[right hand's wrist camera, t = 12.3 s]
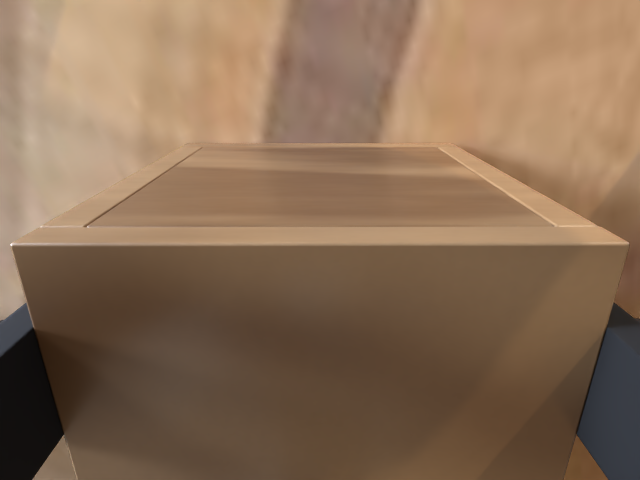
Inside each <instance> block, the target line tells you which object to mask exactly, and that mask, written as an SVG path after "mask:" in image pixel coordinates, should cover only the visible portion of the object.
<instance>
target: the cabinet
mask: <svg viewBox="0 0 640 480" xmlns="http://www.w3.org/2000/svg"><path fill="white" fill-rule="evenodd" d="M629 246H630V245H629V242H627V241H625V240H624V239H622V238H620V237H618V236H617V235H615V234H613V233H611V232H609V231H608V230H606V229H604V228H602V227H598V226H597V225H596V224H594V223H593V222H591V221H589V220H587V219H585V218H584V217H582V216H580V215H578V214H577V213H575V212H573V211H571V210H569V209H568V208H566V207H564V206H562V205H561V204H559V203H557V202H555V201H553V200H552V199H550V198H548V197H546V196H545V195H543V194H541V193H539V192H537V191H536V190H534V189H532V188H530V187H529V186H527V185H525V184H523V183H521V182H520V181H518V180H516V179H514V178H513V177H511V176H509V175H507V174H505V173H504V172H502V171H500V170H498V169H497V168H495V167H493V166H491V165H489V164H488V163H486V162H484V161H482V160H481V159H479V158H477V157H475V156H473V155H472V154H470V153H468V152H466V151H465V150H463V149H461V148H459V147H458V146H456V145H454V144H452V143H241V144H185V145H184V146H182V147H180V148H178V149H176V150H175V151H173V152H171V153H169V154H168V155H166V156H164V157H162V158H161V159H159V160H157V161H155V162H153V163H152V164H150V165H148V166H146V167H145V168H143V169H141V170H139V171H138V172H136V173H134V174H132V175H130V176H129V177H127V178H125V179H123V180H122V181H120V182H118V183H116V184H115V185H113V186H111V187H109V188H108V189H106V190H104V191H102V192H100V193H99V194H97V195H95V196H93V197H92V198H90V199H88V200H86V201H85V202H83V203H81V204H79V205H77V206H76V207H74V208H72V209H70V210H69V211H67V212H65V213H63V214H62V215H60V216H58V217H56V218H55V219H53V220H51V221H49V222H47V223H46V224H44V225H42V226H41V227H40V228H37V229H36V230H34V231H32V232H30V233H28V234H27V235H25V236H23V237H21V238H20V239H18V240H16V241H14V242H13V243H11V245H10V247H11V251H12V254H13V258H14V261H15V265H16V268H17V272H18V275H19V279H20V282H21V286H22V289H23V293H24V296H25V300H26V303H27V307H28V310H29V314H30V317H31V321H32V324H33V328H34V331H35V335H36V338H37V342H38V345H39V349H40V352H41V356H42V359H43V363H44V366H45V370H46V373H47V377H48V380H49V384H50V387H51V391H52V394H53V398H54V401H55V405H56V408H57V412H58V415H59V419H60V422H61V426H62V429H63V433H64V436H65V440H66V443H67V447H68V450H69V454H70V457H71V461H72V464H73V468H74V471H75V475H76V478H77V480H563V479H564V476H565V472H566V469H567V465H568V461H569V458H570V454H571V451H572V447H573V444H574V440H575V437H576V433H577V430H578V426H579V423H580V419H581V416H582V412H583V409H584V405H585V401H586V398H587V394H588V391H589V387H590V384H591V380H592V377H593V373H594V370H595V366H596V363H597V359H598V356H599V352H600V349H601V345H602V341H603V338H604V334H605V331H606V327H607V324H608V320H609V317H610V313H611V310H612V306H613V303H614V299H615V296H616V292H617V289H618V285H619V281H620V278H621V274H622V271H623V267H624V264H625V260H626V257H627V253H628V250H629Z"/></svg>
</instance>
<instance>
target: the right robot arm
mask: <svg viewBox="0 0 640 480" xmlns="http://www.w3.org/2000/svg"><path fill="white" fill-rule="evenodd" d="M576 434H577V436H578V437H579V438H580V440H581V441H582V443H583V444H584V446H585V447H586V448H587V450H588V451H589V453H590V454H591V455H592V457H593V458H594V460H595V461H596V463H597V464H598V465H599V467H600V468H601V470H602V471H603V473H604V474H605V475H606V477H607V478H608V480H640V319H634V318H633V317H632V316H630V315H629V314H628V313H627V312H625V311H624V310H623V309H622V308H620V307H619V306H618V305H617V304H615V303H613V306H612V310H611V313H610V317H609V320H608V324H607V327H606V331H605V334H604V338H603V341H602V345H601V349H600V352H599V356H598V359H597V363H596V366H595V370H594V373H593V377H592V380H591V384H590V387H589V391H588V394H587V398H586V401H585V405H584V409H583V412H582V416H581V419H580V423H579V426H578V430H577V433H576ZM63 435H64V433H63V429H62V426H61V422H60V419H59V415H58V412H57V408H56V405H55V401H54V398H53V394H52V391H51V387H50V384H49V380H48V377H47V373H46V370H45V366H44V363H43V359H42V356H41V352H40V349H39V345H38V342H37V338H36V335H35V331H34V328H33V324H32V321H31V317H30V314H29V310H28V307H27V303H25V304H24V305H23V306H21V307H20V308H19V309H18V310H16V311H15V312H14V313H13V314H11V315H10V316H9V317H7V318H6V319H5V320H1V321H0V480H32V479H33V477H34V476H35V475H36V473H37V472H38V470H39V469H40V468H41V466H42V465H43V463H44V462H45V460H46V459H47V458H48V456H49V455H50V453H51V452H52V450H53V449H54V448H55V446H56V445H57V443H58V442H59V441H60V439H61V438H62V436H63Z"/></svg>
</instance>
